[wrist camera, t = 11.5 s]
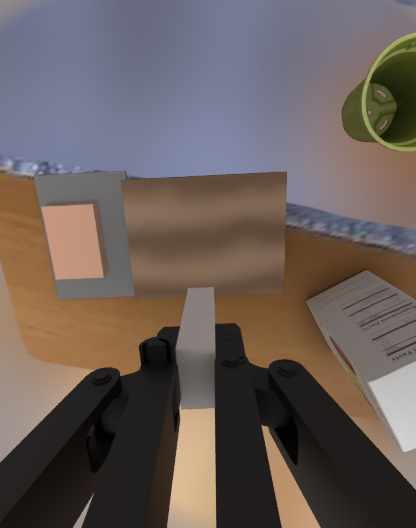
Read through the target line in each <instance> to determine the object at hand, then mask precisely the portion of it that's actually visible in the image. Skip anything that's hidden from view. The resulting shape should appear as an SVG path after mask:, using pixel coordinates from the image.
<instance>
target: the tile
mask: <svg viewBox="0 0 416 528" xmlns="http://www.w3.org/2000/svg"><path fill="white" fill-rule="evenodd" d="M41 208H42V213H43V218H44V223H45V228H46V233H47V238H48V243H49V248H50V253H51V258H52V263H53V268H54V273H55V278H56V280H60V279H82V278H104V277H105V276H106V275H107V274H108V273H109V271H108V264H107V258H106V251H105V244H104V237H103V230H102V223H101V217H100V210H99V203H82V204H61V205H47V206H43V207H41Z"/></svg>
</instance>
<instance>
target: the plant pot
mask: <svg viewBox="0 0 416 528" xmlns="http://www.w3.org/2000/svg"><path fill="white" fill-rule="evenodd" d="M378 89H379V90H381V91H382V92H384V93H385V94H386V98H384V97H383V96H382V95H381V94H379V93H378V92H376V91H377V90H378ZM369 110H371V111H372V114H371V115H368V113H367V112H368V111H369ZM387 118H388V121H387V124H386V126H385V127H384V128H383V129H382V130H380V127H381V126H382V125H383V124H384V122H385V121H386V119H387ZM342 121H343V127H344V129H345V131H346V133H347V134H348V135H349V136H350V137H352V138H353V139H355V140H358V141H363V142H376V143H379V144H381V145H382V146H384V147H386V148H389V149H391V150H395V151H404V152H405V151H415V150H416V33H412V34H409V35H406V36H404V37H402V38H400V39H398V40H396V41H395V42H393V43H392V44H391V45H390V46H388V47H387V48H386V49H385V50H384V51H383V52H382V53H381V54H380V55H379V56H378V58H377V59H376V60H375V62H374V63H373V65H372V66H371V68H370V70H369V72H368V74H367V76H366V79H364V80H363V82H361V83H360V84H359V85H358V86H357V87H356V88H355V89H354V90H353V91H352V92H351V93H350V94H349V96H348V97H347V99H346V101H345V103H344V105H343V108H342Z"/></svg>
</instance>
